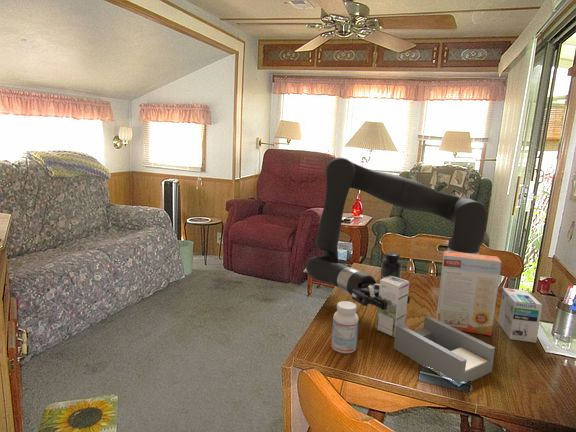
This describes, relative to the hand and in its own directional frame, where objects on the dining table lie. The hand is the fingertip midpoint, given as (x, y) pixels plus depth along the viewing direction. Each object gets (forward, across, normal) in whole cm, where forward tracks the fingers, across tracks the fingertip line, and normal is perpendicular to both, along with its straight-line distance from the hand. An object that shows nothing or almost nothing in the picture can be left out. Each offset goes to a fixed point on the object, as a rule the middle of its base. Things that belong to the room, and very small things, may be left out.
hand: (397, 303), depth 104 cm
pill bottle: (-1, -17, +9) cm, 19 cm away
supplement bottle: (-26, +25, +9) cm, 37 cm away
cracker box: (+6, +20, +9) cm, 23 cm away
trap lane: (+14, 0, +8) cm, 17 cm away
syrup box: (-2, 0, +9) cm, 9 cm away
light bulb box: (+15, +31, +9) cm, 36 cm away
